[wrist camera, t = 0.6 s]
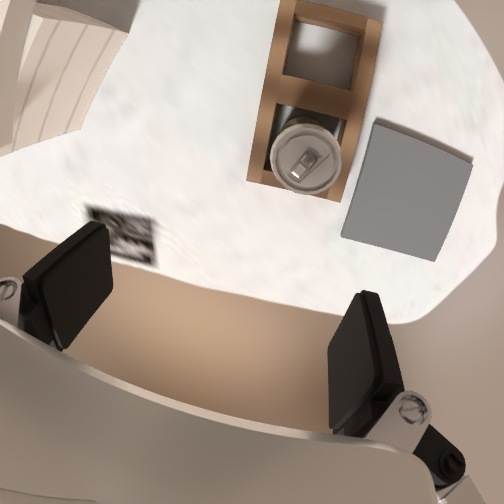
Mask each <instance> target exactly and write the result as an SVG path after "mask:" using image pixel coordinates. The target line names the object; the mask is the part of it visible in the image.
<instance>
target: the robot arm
mask: <svg viewBox="0 0 504 504" xmlns="http://www.w3.org/2000/svg"><path fill="white" fill-rule="evenodd" d="M23 279H24V283H23V284H22V285H21V283H20V281H19V280H18V279H16V278H13V277H6V278H3V279H0V504H485V502H484V500H483V499H482V497H481V495H480V493H479V492H478V490H477V488H476V487H475V485H474V483H473V482H472V480H471V479H470V477H469V475H467V476H464V472H465V467H466V464H465V459H464V457H463V454H462V453H461V452H460V451H459V450H458V449H457V448H456V447H455V446H454V445H452V444H451V443H450V442H449V441H448V440H447V439H446V438H445V437H444V436H443V435H441V434H440V433H439V432H438V431H437V430H436V429H435V428H434V427H432V426H431V425H430V424H429V423H430V420H431V408H430V406H429V404H428V402H427V401H426V399H425V398H424V397H423V396H422V395H420V394H418V393H416V392H413V391H405V390H404V385H403V381H402V376H401V372H400V368H399V364H398V360H397V355H396V352H395V348H394V344H393V340H392V337H391V335H390V331H389V328H388V324H387V321H386V317H385V314H384V311H383V307H382V304H381V301H380V298H379V295H378V294H377V293H374V292H370V291H366V290H362V291H361V293H356V294H355V296H354V298H353V300H352V302H351V304H350V306H349V308H348V310H347V312H346V314H345V315H344V317H343V320H342V321H341V323H340V325H339V327H338V329H337V330H336V332H335V334H334V336H333V338H332V340H331V342H330V343H329V346H328V384H329V428H331V429H333V434H325V433H318V432H311V431H304V430H298V429H292V428H286V427H280V426H274V425H269V424H264V423H259V422H254V421H249V420H245V419H241V418H236V417H232V416H228V415H224V414H220V413H216V412H213V411H209V410H206V409H202V408H198V407H195V406H192V405H189V404H185V403H182V402H179V401H176V400H173V399H170V398H167V397H164V396H161V395H158V394H155V393H153V392H150V391H147V390H145V389H142V388H139V387H136V386H134V385H131V384H129V383H127V382H124V381H122V380H119V379H117V378H115V377H112V376H110V375H108V374H106V373H103V372H101V371H99V370H97V369H94V368H92V367H90V366H88V365H86V364H84V363H82V362H80V361H78V360H76V359H74V358H72V357H69V356H68V355H66V354H64V353H62V351H63V349H67V348H68V347H69V346H70V344H71V343H72V342H73V340H74V339H75V337H76V336H77V335H78V334H79V332H80V331H81V330H82V328H83V327H84V325H85V324H86V323H87V322H88V320H89V319H90V318H91V317H92V315H93V314H94V313H95V312H96V310H97V309H98V308H99V306H100V305H101V304H102V303H103V302H104V300H105V299H106V298H107V297H108V296H109V294H110V293H111V292H112V289H113V277H112V267H111V255H110V240H109V230H108V229H107V228H106V225H105V224H103V223H100V222H96V221H90V222H88V223H87V224H86V225H84V226H83V227H82V228H80V229H79V230H78V231H76V232H75V233H74V234H72V235H71V236H70V237H68V238H67V239H66V240H65V241H63V242H62V243H61V244H59V245H58V246H57V247H56V248H54V249H53V250H52V251H51V252H50V253H48V254H47V255H46V256H45V257H44V258H42V259H41V260H40V261H39V262H38V263H36V264H35V265H34V266H33V267H32V268H31V269H29V270H28V271H27V272H26V273H25V274H24V275H23Z"/></svg>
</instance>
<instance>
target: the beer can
mask: <svg viewBox="0 0 504 504" xmlns="http://www.w3.org/2000/svg"><path fill="white" fill-rule="evenodd" d="M270 161H271V167H272V170H273V172H274V174H275V176H276V178H277V179H278V180H279V181H280V182H281V183H282V184H283V185H284V186H285V187H286V188H287V189H289V190H291V191H293V192H295V193H299V194H304V195H310V194H317V193H320V192H322V191H324V190H326V189H328V188H329V187H330V186H331V185H332V184H333V183H334V182H335V181H336V179H337V177H338V176H339V174H340V172H341V167H342V163H343V158H342V150H341V148H340V146H339V143H338V141H337V139H336V138H335V137H334V136H333V135H332V134H331V133H330V132H329V131H328V130H327V129H326V128H325V127H324V126H323V125H322V124H321V123H320V122H318V121H317V120H315V119H313V118H309V117H296V118H294V119H292V120H290V121H288V122H287V123H286V124H285V125H284V126H283V128H282V129H281V131H280V133H279V134H278V136H277V138H276V140H275V142H274V143H273V145H272V148H271V154H270Z"/></svg>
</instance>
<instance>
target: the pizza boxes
mask: <svg viewBox="0 0 504 504" xmlns="http://www.w3.org/2000/svg"><path fill="white" fill-rule="evenodd" d="M35 2H36V0H0V157H1V156H4V155H6V154H9V153H11V152H14V151H16V150H19V149H21V148H24V147H27V146H30V145H32V144H35V143H38V142H41V141H44V140H47V139H50V138H53V137H56V136H59V135H63V134H66V133H70V132H73V131H77V130H80V129H81V126H82V124H83V121H84V119H85V117H86V114H87V112H88V110H89V108H90V105H91V103H92V101H93V99H94V97H95V94H96V92H97V90H98V88H99V86H100V84H101V82H102V80H103V78H104V76H105V74H106V72H107V71H108V69H109V67H110V65H111V63H112V61H113V60H114V58H115V56H116V54H117V53H118V51H119V49H120V47H121V46H122V44H123V42H124V41H125V39H126V38H127V36H128V34H129V33H127V32H124V31H122V30H120V29H118V28H116V27H114V26H111V25H109V24H107V23H104V22H102V21H100V20H97V19H95V18H93V17H90V16H88V15H85V14H82V13H80V12H77V11H75V10H72V9H69V8H66V7H61V6H55V5H49V4H42V3H35Z"/></svg>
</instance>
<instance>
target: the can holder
mask: <svg viewBox="0 0 504 504" xmlns="http://www.w3.org/2000/svg"><path fill="white" fill-rule="evenodd" d="M295 21H296V22H302V23H307V24H311V25H316V26H321V27H325V28H329V29H333V30H337V31H341V32H344V33H348V34H351V35H355V36H358V37H359V39H358V45H357V50H356V55H355V60H354V65H353V70H352V75H351V80H350V85H349V89H348V90H346V89H342V88H338V87H335V86H331V85H327V84H323V83H319V82H315V81H311V80H306V79H302V78H297V77H292V76H287V75H284V72H285V67H286V62H287V57H288V52H289V47H290V42H291V37H292V32H293V27H294V22H295ZM381 28H382V22H379V21H376V20H373V19H370V18H367V17H364V16H361V15H357V14H354V13H350V12H347V11H343V10H339V9H336V8H332V7H327V6H323V5H319V4H314V3H309V2H304V1H298V0H280V4H279V9H278V14H277V19H276V24H275V29H274V34H273V38H272V44H271V49H270V54H269V59H268V64H267V69H266V74H265V79H264V85H263V90H262V95H261V101H260V106H259V111H258V117H257V122H256V128H255V133H254V139H253V144H252V150H251V156H250V161H249V167H248V173H247V179H246V181H250V182H254V183H259V184H264V185H269V186H273V187H278V188H282V189H287V188H286V187H285V186H284V185H283V184H282V183H281V182H280V181H279V180H278V179H277V178H276V176H275V174H274V172H273V170H272V167H271V164H270V163H267V159H268V153H269V148H270V143H271V138H272V133H273V128H274V123H275V118H276V113H277V108H278V104H283V105H288V106H293V107H297V108H302V109H306V110H310V111H315V112H319V113H323V114H326V115H330V116H334V117H338V118H341V119H342V120H341V125H340V129H339V133H338V137H337V141H338V143H339V146H340V148H341V150H342V158H343V163H342V167H341V172H340V174H339V176H338V177H337V179H336V181H335V182H334V183H333V184H332V185H331V186H330V187H329V188H328V189H326V190H324V191H322V192H320V193H317V194H310V195H312V196H316V197H320V198H324V199H328V200H332V201H336V202H339V203H340V202H341V199H342V195H343V192H344V189H345V185H346V182H347V178H348V175H349V171H350V168H351V164H352V160H353V157H354V153H355V149H356V145H357V141H358V137H359V134H360V130H361V125H362V121H363V117H364V113H365V109H366V104H367V100H368V96H369V91H370V86H371V82H372V77H373V72H374V67H375V62H376V57H377V51H378V46H379V40H380V34H381ZM287 190H289V189H287Z"/></svg>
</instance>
